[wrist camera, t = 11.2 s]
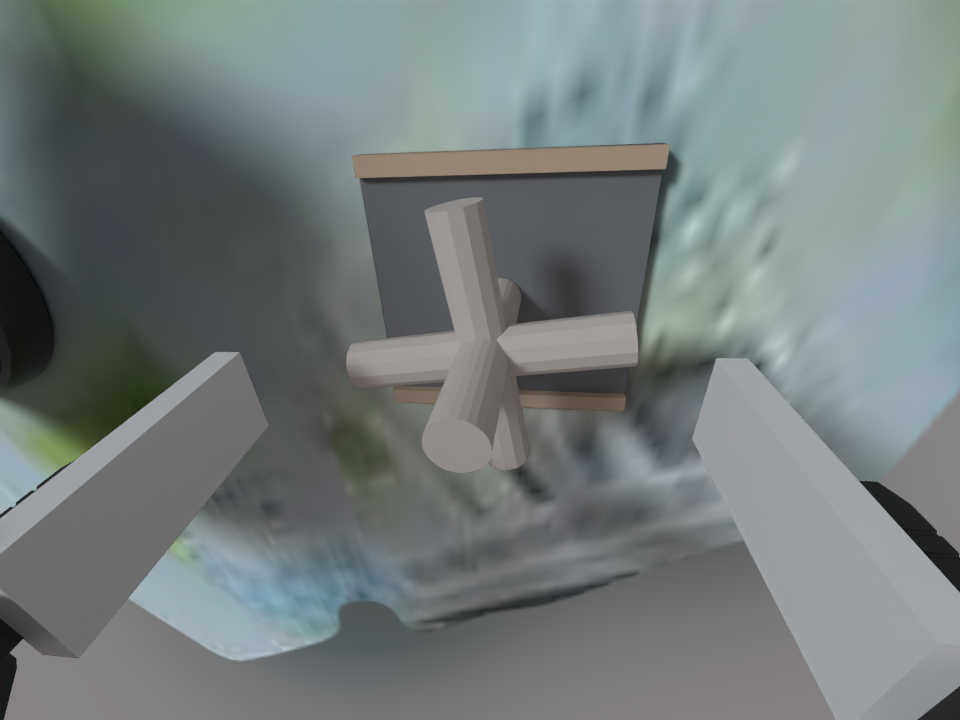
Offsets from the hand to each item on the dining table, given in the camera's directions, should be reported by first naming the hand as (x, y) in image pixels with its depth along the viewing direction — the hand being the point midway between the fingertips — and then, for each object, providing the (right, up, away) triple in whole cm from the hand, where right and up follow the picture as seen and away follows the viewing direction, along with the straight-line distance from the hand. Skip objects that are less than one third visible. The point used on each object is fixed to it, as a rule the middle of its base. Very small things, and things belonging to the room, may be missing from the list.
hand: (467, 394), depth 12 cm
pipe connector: (+1, +4, +7) cm, 8 cm away
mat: (+2, +4, +8) cm, 9 cm away
